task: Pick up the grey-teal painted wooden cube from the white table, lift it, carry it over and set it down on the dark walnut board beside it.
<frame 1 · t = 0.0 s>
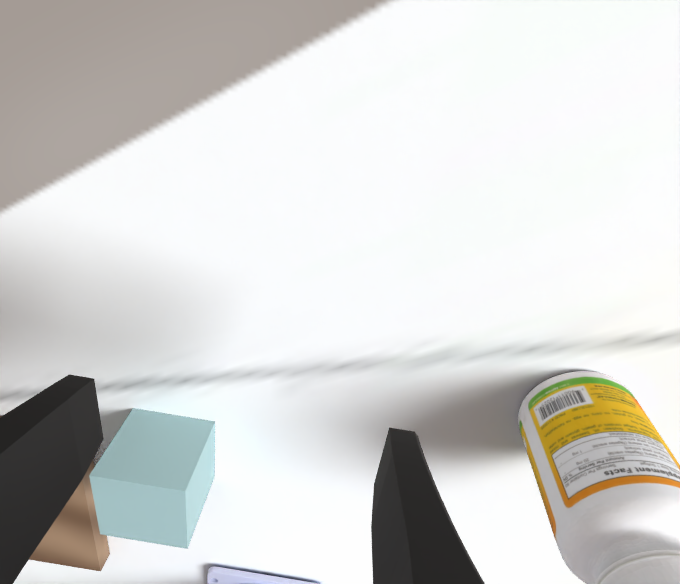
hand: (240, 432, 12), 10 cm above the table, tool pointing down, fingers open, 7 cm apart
teal cube: (176, 442, 27), on the table
walnut board: (21, 485, 30), on the table
supplement bottle: (571, 407, 24), on the table
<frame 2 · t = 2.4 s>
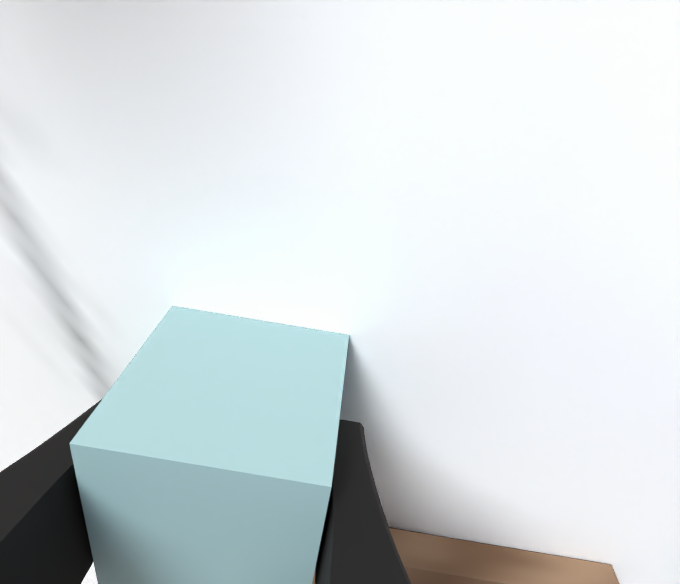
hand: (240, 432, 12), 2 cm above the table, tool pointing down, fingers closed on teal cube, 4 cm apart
teal cube: (256, 388, 13), on the table, touching gripper
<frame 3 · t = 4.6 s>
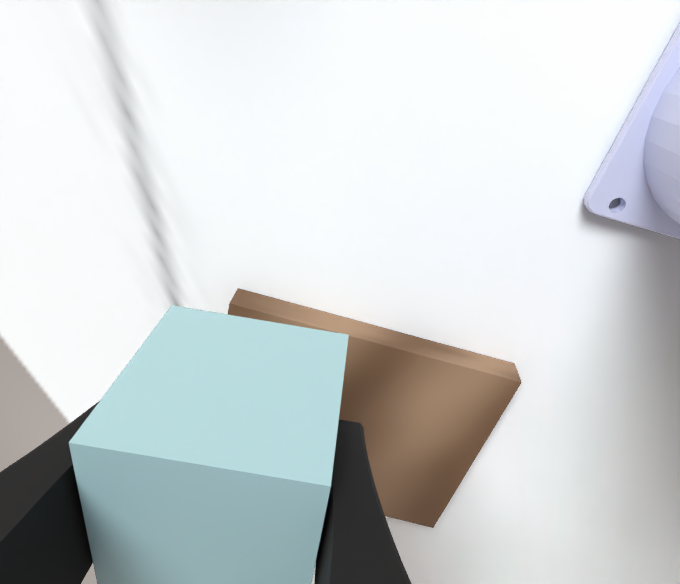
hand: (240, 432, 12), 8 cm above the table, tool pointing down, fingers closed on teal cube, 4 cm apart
teal cube: (255, 387, 13), point 7 cm above the table, touching gripper
walnut board: (346, 411, 22), on the table
when the fingers open (4 cm above the table, at t = 6.9 s): teal cube stays where it is, resting on walnut board.
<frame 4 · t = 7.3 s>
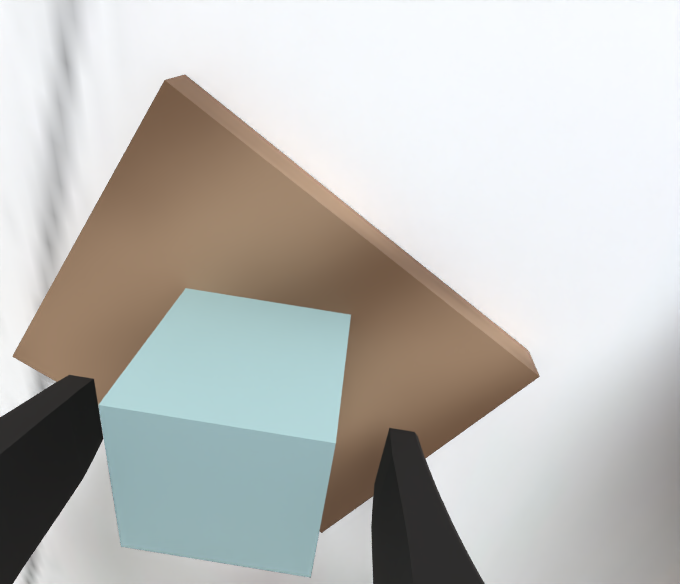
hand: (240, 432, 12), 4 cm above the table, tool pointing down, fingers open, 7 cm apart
teal cube: (263, 366, 14), point 1 cm above the table, touching walnut board
walnut board: (272, 342, 15), on the table
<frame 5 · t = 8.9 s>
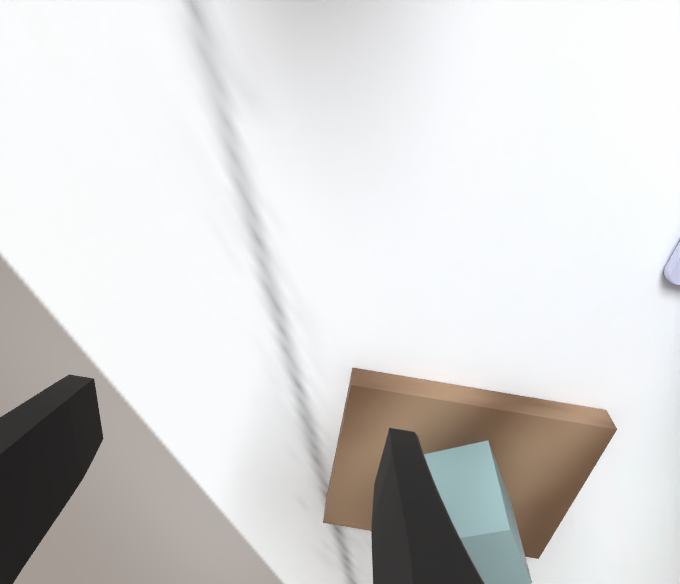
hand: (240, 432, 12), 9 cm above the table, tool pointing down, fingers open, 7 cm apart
teal cube: (454, 481, 24), point 1 cm above the table, touching walnut board
walnut board: (451, 461, 25), on the table
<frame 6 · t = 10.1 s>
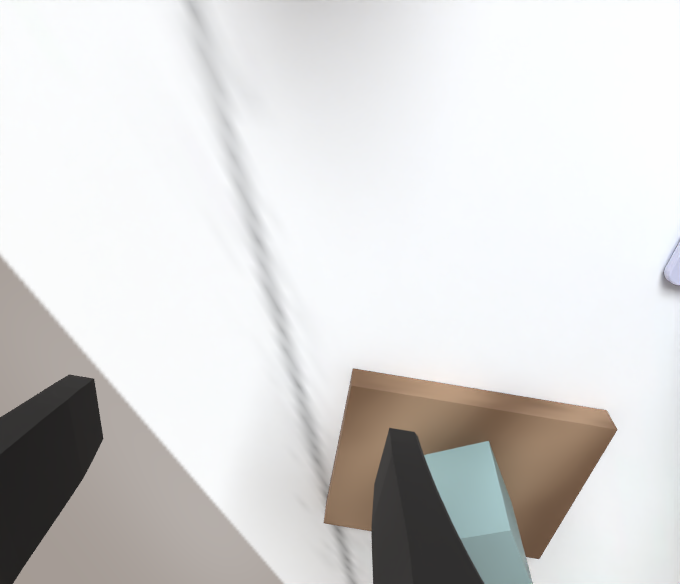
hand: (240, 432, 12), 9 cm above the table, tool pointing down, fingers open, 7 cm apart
teal cube: (455, 481, 24), point 1 cm above the table, touching walnut board
walnut board: (452, 462, 25), on the table
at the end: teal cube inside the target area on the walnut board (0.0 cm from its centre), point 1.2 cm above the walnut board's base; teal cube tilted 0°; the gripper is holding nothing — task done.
